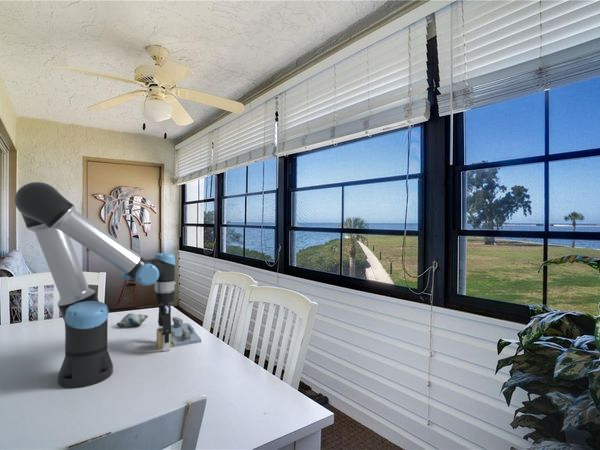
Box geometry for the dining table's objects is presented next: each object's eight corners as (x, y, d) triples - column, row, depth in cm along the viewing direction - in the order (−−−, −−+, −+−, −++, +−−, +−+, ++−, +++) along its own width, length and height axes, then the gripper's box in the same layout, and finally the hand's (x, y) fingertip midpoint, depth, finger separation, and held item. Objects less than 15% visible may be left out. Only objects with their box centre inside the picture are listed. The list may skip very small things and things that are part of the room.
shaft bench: (201, 342, 142) (201, 330, 141) (173, 346, 136) (174, 334, 136) (187, 325, 164) (187, 315, 164) (163, 328, 158) (164, 318, 158)
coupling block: (171, 347, 135) (171, 328, 135) (158, 350, 132) (158, 330, 132) (169, 343, 139) (169, 325, 139) (156, 345, 137) (156, 326, 137)
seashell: (123, 327, 164) (146, 328, 162) (114, 325, 157) (138, 326, 155) (127, 314, 166) (149, 315, 165) (118, 312, 159) (141, 312, 158)
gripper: (180, 295, 128) (179, 353, 128) (169, 285, 147) (169, 336, 147) (158, 297, 124) (158, 357, 124) (151, 287, 144) (150, 338, 144)
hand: (164, 345), depth 136 cm, fingers open, 10 cm apart
